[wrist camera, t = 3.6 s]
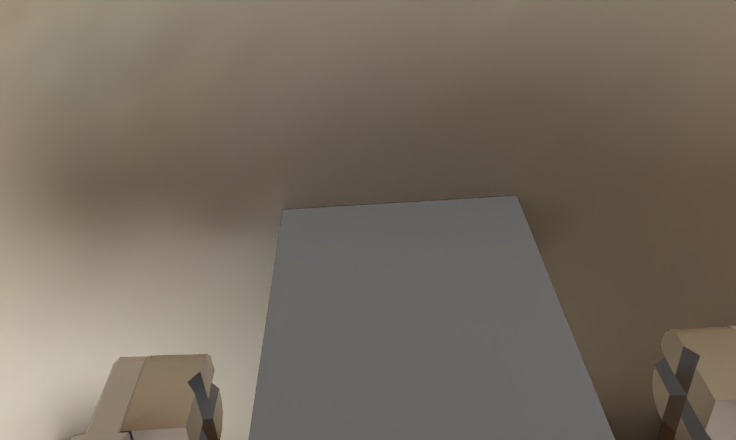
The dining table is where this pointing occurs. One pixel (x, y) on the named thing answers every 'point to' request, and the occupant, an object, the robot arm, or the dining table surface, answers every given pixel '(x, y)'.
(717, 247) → the dining table surface
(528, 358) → the domino
